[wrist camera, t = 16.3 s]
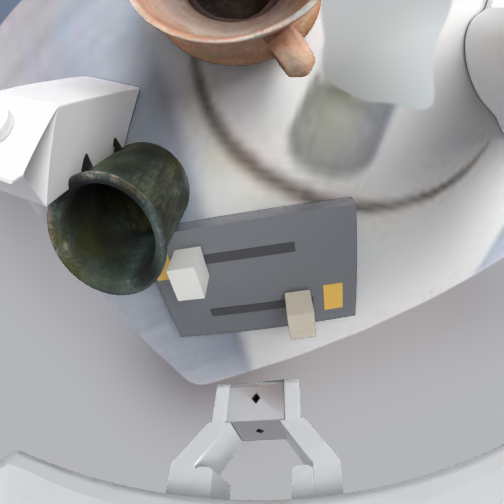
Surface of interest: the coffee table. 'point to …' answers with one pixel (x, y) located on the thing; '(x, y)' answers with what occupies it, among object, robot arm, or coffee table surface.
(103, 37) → the coffee table surface
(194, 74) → the coffee table surface
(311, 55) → the ceramic jug
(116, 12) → the coffee table surface
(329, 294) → the switch panel
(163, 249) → the mug
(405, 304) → the coffee table surface
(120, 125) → the milk carton
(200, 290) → the off white slider
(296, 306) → the sand slider
